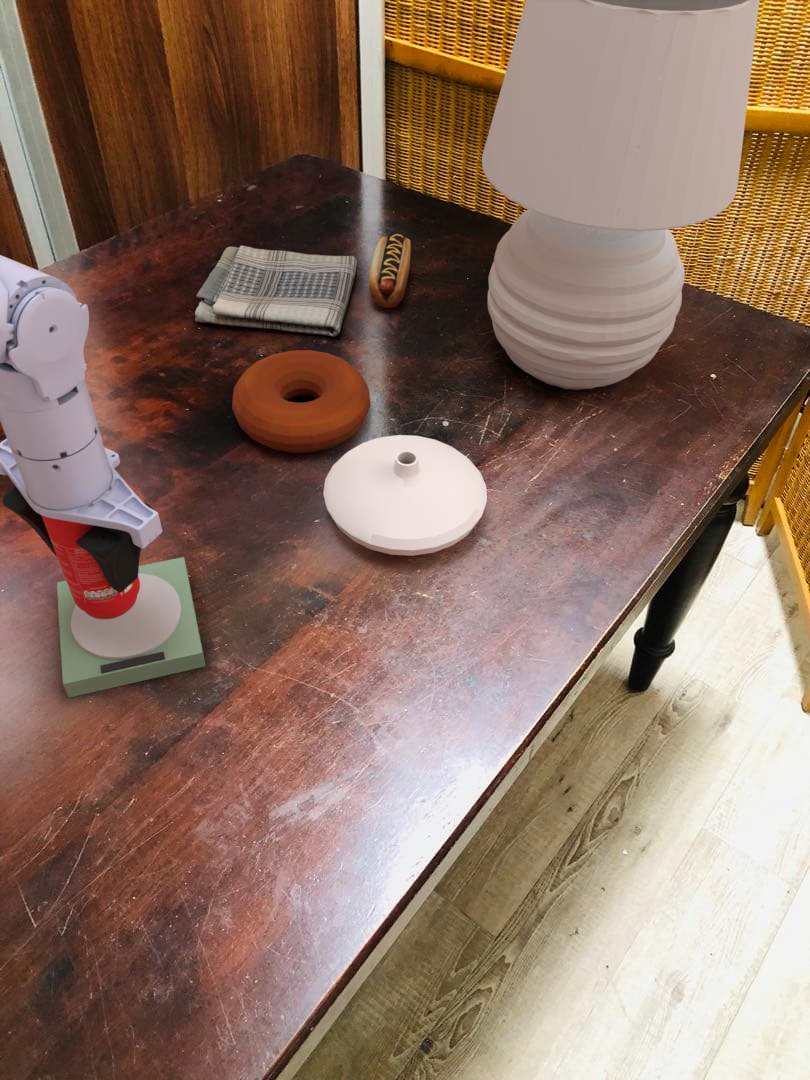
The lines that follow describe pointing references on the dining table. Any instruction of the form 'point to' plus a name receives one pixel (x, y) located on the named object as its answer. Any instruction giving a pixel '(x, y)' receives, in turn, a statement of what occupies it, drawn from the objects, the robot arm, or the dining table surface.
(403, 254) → the hot dog
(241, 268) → the dish towel
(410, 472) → the vase
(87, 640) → the scale
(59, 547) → the beverage can
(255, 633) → the dining table surface
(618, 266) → the table lamp
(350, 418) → the donut
